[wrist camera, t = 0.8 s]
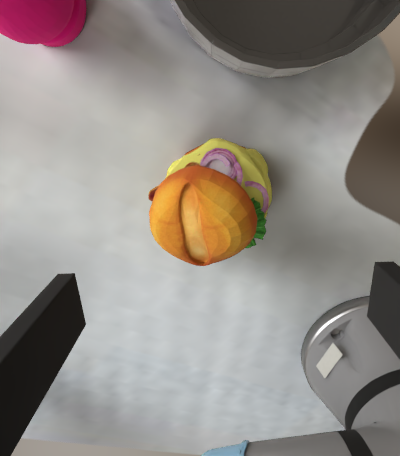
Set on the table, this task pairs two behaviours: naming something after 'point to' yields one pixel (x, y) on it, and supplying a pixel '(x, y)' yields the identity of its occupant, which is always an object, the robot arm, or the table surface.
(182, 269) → the table surface
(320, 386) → the robot arm
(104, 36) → the table surface
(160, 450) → the table surface
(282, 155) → the table surface
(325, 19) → the bowl
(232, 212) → the cheeseburger
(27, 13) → the pepper mill
